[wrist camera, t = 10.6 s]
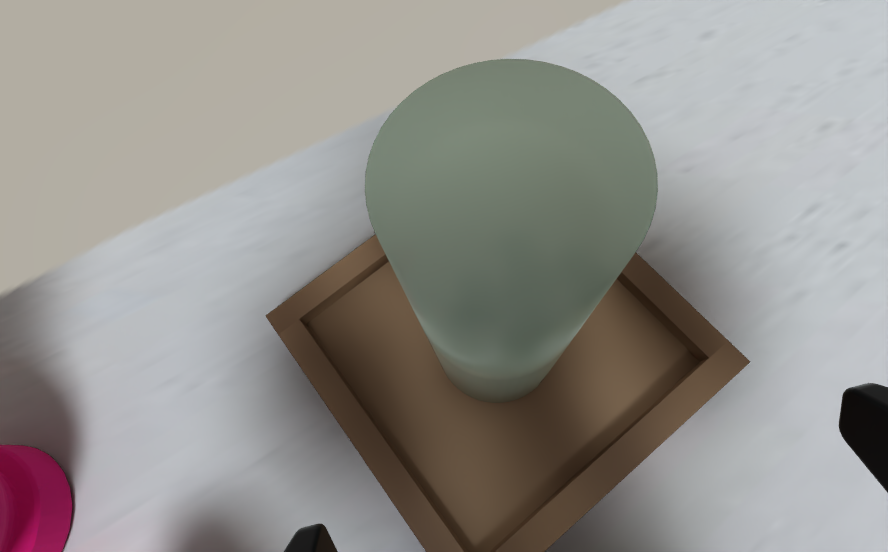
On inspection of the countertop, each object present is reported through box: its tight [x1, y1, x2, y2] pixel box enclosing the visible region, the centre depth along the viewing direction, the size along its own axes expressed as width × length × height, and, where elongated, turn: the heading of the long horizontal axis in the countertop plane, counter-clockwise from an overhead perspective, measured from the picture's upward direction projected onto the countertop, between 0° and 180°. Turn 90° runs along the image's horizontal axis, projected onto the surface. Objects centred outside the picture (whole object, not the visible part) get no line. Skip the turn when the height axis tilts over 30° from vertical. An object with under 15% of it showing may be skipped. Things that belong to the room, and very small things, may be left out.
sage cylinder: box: [365, 59, 658, 403], centre depth 14 cm, size 5×5×12 cm
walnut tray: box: [266, 234, 750, 552], centre depth 20 cm, size 13×13×2 cm
